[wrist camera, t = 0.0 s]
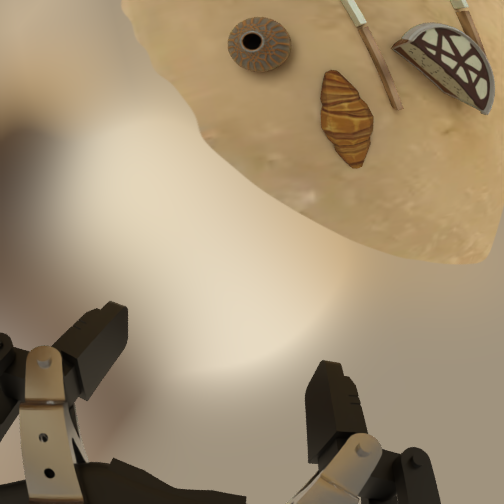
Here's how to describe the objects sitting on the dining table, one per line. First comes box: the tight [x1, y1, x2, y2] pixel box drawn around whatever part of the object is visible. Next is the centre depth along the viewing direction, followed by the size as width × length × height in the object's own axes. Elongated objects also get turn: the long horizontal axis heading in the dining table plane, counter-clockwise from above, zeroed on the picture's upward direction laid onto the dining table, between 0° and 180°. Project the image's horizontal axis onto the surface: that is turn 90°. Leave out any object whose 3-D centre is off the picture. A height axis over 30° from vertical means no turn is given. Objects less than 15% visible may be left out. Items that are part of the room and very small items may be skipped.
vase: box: [228, 17, 291, 72], centre depth 24 cm, size 7×7×9 cm
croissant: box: [320, 70, 373, 168], centre depth 30 cm, size 14×7×5 cm, turn 21°
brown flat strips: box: [358, 11, 486, 110], centre depth 22 cm, size 11×17×2 cm, turn 119°
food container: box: [391, 23, 495, 115], centre depth 19 cm, size 12×6×10 cm, turn 64°
